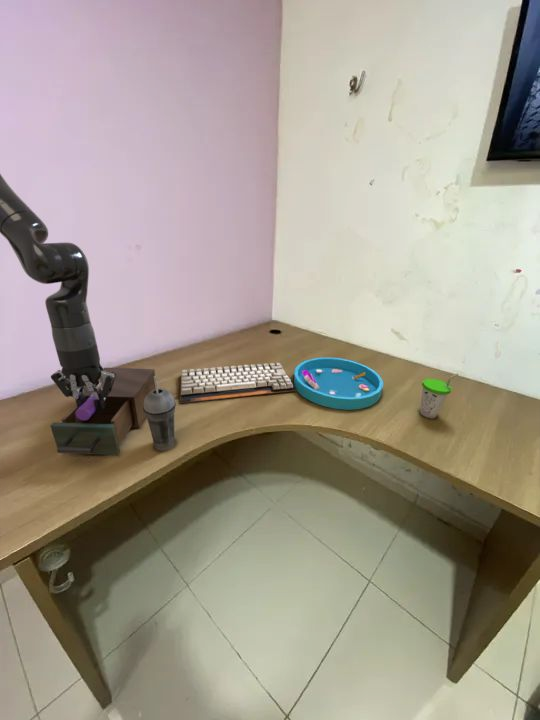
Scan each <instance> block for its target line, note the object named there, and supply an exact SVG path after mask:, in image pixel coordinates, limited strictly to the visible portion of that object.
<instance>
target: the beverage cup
mask: <svg viewBox="0 0 540 720" xmlns="http://www.w3.org/2000/svg"><path fill="white" fill-rule="evenodd" d="M154 382H155V390H153V391H151V392H150V393H148V395H147V396H146V398H145V400H144V406H143V410H144V412H145V415H146V419H147V422H148V426H149V430H150V433H151V438H152V441H153V444H154V448H155V449H156V450H157V451H160V452H161V451H162V452H163V451H164V452H165V451H169V450H170V449H171V448H173V447H174V445H175V412H176V405H177V403H176V401H175V397H174V396H173V394H172V392H171V391H169V390H166V389H163V388H158V381H157V376H156V375H155V376H154Z"/></svg>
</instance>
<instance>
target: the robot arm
mask: <svg viewBox="0 0 540 720" xmlns="http://www.w3.org/2000/svg"><path fill="white" fill-rule="evenodd" d="M0 234H1V235H2V237H3V238H4V239H5V240H6V241H7V242H8V244H9V245H10V247H11V248H12V251H13V252H14V254H15V256H16V258H17V259H18V261H19V263H20V266H21V268H22V269H23V271H24V273H25V274H26V275H27V276H28V277H29V278H31V280H33V281H35V282H37V283H40V284H43V285H52V284H58V283H60V287H59V289H58V290H57V291H55V292H54V293H52V294H50V295H48V296H47V297H46V298H45V303H44V305H45V309H46V313H47V315H48V319H49V323H50V328H51V335H52V341H53V344H54V348H55V351H56V355H57V358H58V362H59V365H60V367H61V369H58V370H57V371H55V372H54V373H53V374H51V375H50V378H51V380H52V381H53V382H54V384H55V385H56V386H57V388H58V389H59V390H60V391H61V393H62V394H63V395H64V397H66V398H69V397H71V398H73V400H75V405H77V408H79V407H80V406H81V405H82V404H83V403H84V402H85V401H86V400H87V399H86V395H83V394H84V386H86V387H87V388H88V391H89V392H91V393H92V396H93V398H94V404H95V408H96V412H97V413H101V412H102V410H103V409H104V408H105V406H106V405H105V401H104V398H106V397H107V396H108V394H109V393H110V392H111V390H112V387H113V384H114V380H115V377H116V373H115V372H111V373H109V372H106V371H104V370H103V369H104V367H103V366H102V365H101V357H100V353H99V348H98V343H97V338H96V335H95V330H94V327H93V324H92V322H91V317H90V312H89V308H88V303H87V301H88V300H87V299H88V290H89V289H88V288H89V279H90V278H89V276H90V267H89V266H90V265H89V262H88V259H87V256H86V254H85V253H84V251H83V250H82V249H81V248H80V247H79V245H77V244H75V243H73V242H70V241H69V242H68V241H63V242H50V243H49V242H48V243H47V242H46V241H47V240H48V238H49V229H48V227H47V225H46V224H45V223H44V221H43V220H42V219H41V218H40V217H39V216H38V215H37V214H36V213H35V212H34V211H33V209H32V208H31V207H30V206H29V205H27V204H26V202H25V201H24V200H23V199H22V198H21V197H20V196H19V195H18V194H17V193H16V192H15V191H14V189H13V188H12V187H11V186H10V185H9V183H8V182H7V181H6V179H5V178H4V177H3V176H2V174H1V173H0ZM101 376H102V377H103V382H105V383H104V386H103V389H102V387H101V385H102V383H101V381H100V379H99V378H100V377H101Z"/></svg>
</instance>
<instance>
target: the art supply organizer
mask: <svg viewBox="0 0 540 720" xmlns="http://www.w3.org/2000/svg"><path fill="white" fill-rule="evenodd" d="M293 387H294V389H295V391H296V392H298V393H299V394H300V395H301V396H302V397H303V398H305V399H306V400H308V401H310V402H312V403H314V404H316V405H319V406H322V407H326V408H330V409H334V410H346V411H352V410H353V411H354V410H362V409H367V408H369V407H371V406H373V405H375V404H377V403H378V401H379V400H380V398H381V396H382V392H383V388H384V380H383V379H382V377H381V376H380V375H379V374H378V373H377V372H376V371H375V370H374V369H372V368H370V367H369V366H367V365H364V364H362V363H360V362H357V361H353V360H350V359H345V358H340V357H339V358H338V357H316V358H310V359H307V360H304V361H302V362H301V363H299V364H298V365H297V366H296V367H295V369H294V376H293Z"/></svg>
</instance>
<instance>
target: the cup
mask: <svg viewBox="0 0 540 720" xmlns="http://www.w3.org/2000/svg"><path fill="white" fill-rule="evenodd" d="M458 376H459V373H455V374H453V375H451V376H449V378H448V379H447V382H445V381H444V380H440V379H437V378H426V379H425V378H424V379H423V381H422V382H421V386H422V392H421V400H420V407H419V408H420V409H419V414H420V415H421V416H423V417H424V418H427V419H436V418H437V416H438V414H439V412H440V410H441V408H442V406H443V405H444V403H445V400H446V399H447V397H448V395H449V394H451V391H452V389H453V387H452V386H451V385H450V383H451V381H452V379H454V378H455V377H458Z"/></svg>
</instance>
